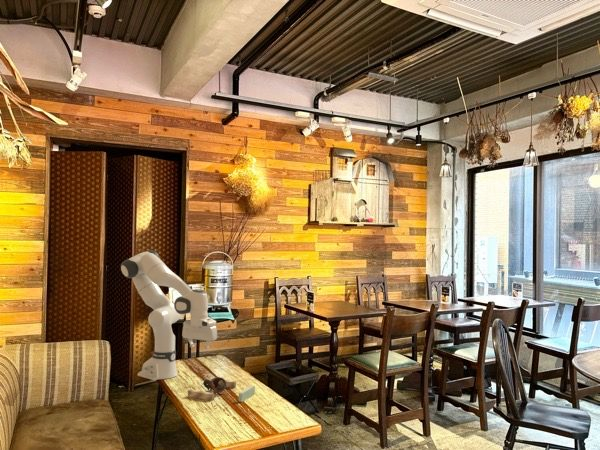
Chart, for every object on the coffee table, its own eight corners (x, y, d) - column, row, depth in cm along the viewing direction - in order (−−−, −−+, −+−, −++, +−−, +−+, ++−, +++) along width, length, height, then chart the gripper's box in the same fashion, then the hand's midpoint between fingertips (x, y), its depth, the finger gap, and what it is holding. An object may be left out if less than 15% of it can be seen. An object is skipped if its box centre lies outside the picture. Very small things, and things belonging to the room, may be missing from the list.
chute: (187, 396, 223) (187, 390, 223) (213, 383, 243) (213, 377, 243) (211, 400, 217) (211, 394, 217) (235, 387, 238) (236, 381, 238)
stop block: (238, 401, 217) (238, 392, 217) (251, 393, 228) (251, 385, 228) (242, 401, 216) (242, 393, 216) (254, 394, 227) (254, 386, 227)
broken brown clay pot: (226, 389, 236) (229, 377, 233) (222, 403, 228) (225, 391, 224) (204, 383, 236) (206, 371, 232) (198, 397, 227) (201, 385, 224)
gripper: (179, 320, 237) (179, 347, 237) (211, 323, 228) (211, 351, 228) (187, 318, 243) (187, 344, 242) (218, 321, 234) (219, 348, 233)
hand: (199, 348), depth 235 cm, fingers open, 8 cm apart
